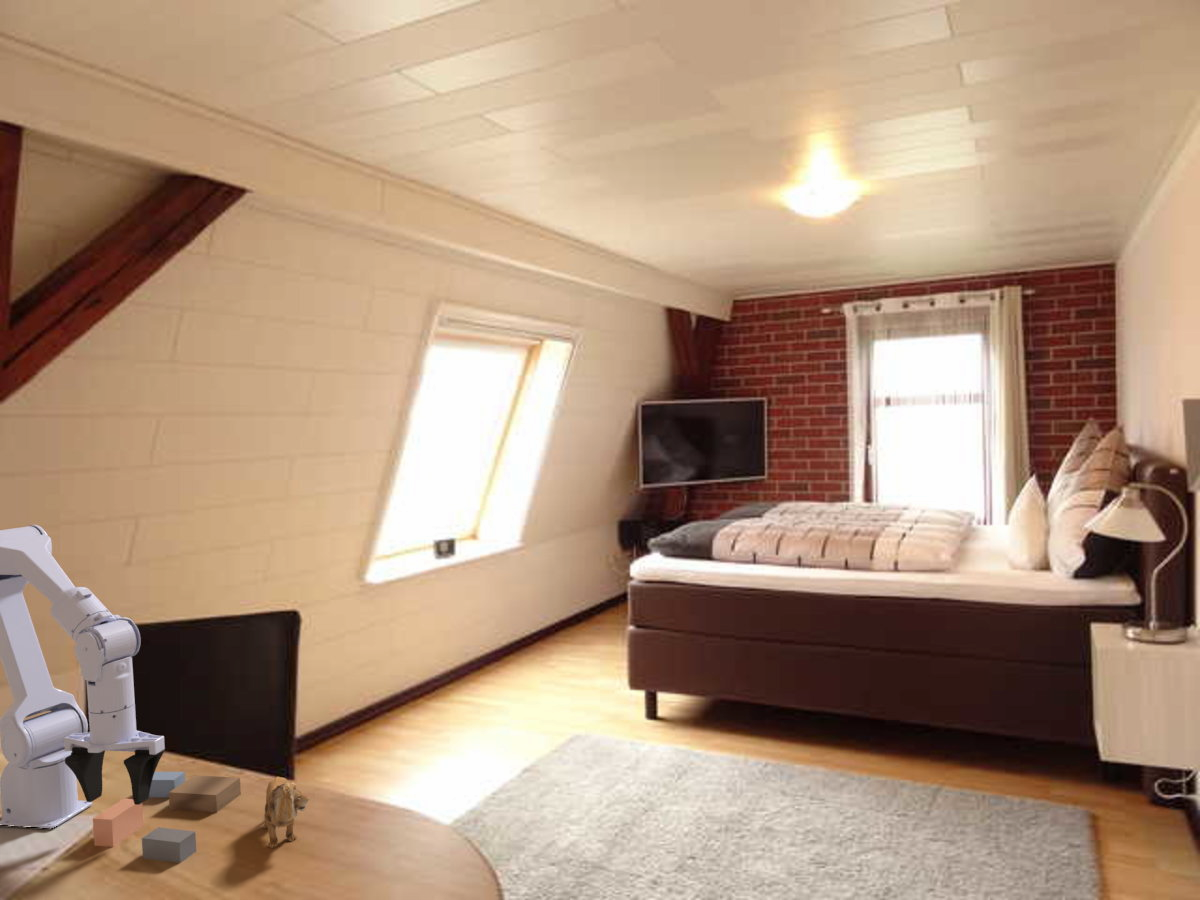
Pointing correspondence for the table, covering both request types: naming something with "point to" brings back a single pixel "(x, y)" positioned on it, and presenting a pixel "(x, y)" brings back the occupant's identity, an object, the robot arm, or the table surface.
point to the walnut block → (204, 793)
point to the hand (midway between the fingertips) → (117, 800)
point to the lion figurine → (282, 808)
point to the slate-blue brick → (165, 783)
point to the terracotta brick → (117, 823)
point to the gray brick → (169, 845)
